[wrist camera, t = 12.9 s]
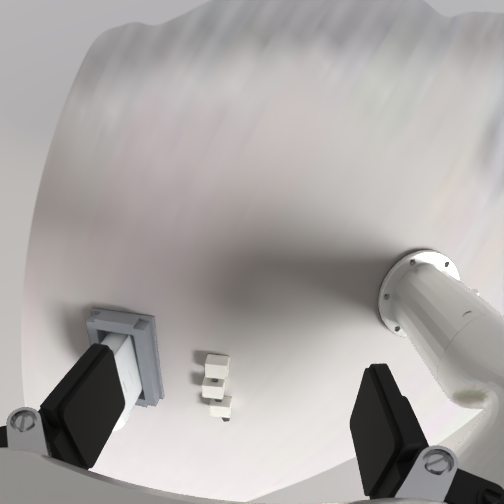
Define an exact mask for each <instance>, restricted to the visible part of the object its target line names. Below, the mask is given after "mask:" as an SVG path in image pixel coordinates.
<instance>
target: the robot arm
mask: <svg viewBox="0 0 504 504" xmlns="http://www.w3.org/2000/svg"><path fill="white" fill-rule="evenodd" d="M410 260H411V261H410ZM385 294H386V295H385ZM378 306H379V313H380V315H381V318H382V320H383V322H384V323H385V325H386V326H387V327H388V329H389V330H390V331H392V332H393V333H394V334H397V335H399V336H402V337H407V338H409V339H410V341H411V342H412V344H413V345H414V347H415V348H416V350H417V351H418V353H419V354H420V356H421V358H422V359H423V361H424V362H425V364H426V365H427V367H428V368H429V370H430V371H431V373H432V375H433V376H434V378H435V379H436V381H437V382H438V384H439V386H440V387H441V389H442V390H443V392H444V394H445V395H446V396H447V397H448V399H450V400H451V401H452V402H453V403H455V404H456V405H458V406H461V407H464V408H470V409H485V410H484V413H483V415H482V416H481V418H480V419H479V421H478V422H477V423H476V424H475V425H474V427H473V428H472V429H471V431H470V432H469V433H468V434H467V435H466V436H465V437H464V439H463V440H462V441H461V442H460V443H459V444H458V445H457V446H456V447H455V448H454V449H453V450H452V451H451V450H450V449H448V448H446V447H443V446H430V447H429V445H428V443H427V440H426V438H425V436H424V433H423V431H422V429H421V427H420V425H419V422H418V420H417V418H416V416H415V414H414V411H413V409H412V407H411V405H410V403H409V401H408V399H407V398H406V397H405V396H402V395H401V393H400V390H399V388H398V386H397V384H396V382H395V380H394V378H393V376H392V374H391V371H390V369H389V367H388V365H387V364H371V365H370V367H369V368H366V369H365V371H364V374H363V378H362V381H361V385H360V388H359V392H358V395H357V399H356V402H355V405H354V408H353V412H352V415H351V418H350V430H351V434H352V438H353V443H354V447H355V452H356V456H357V460H358V465H359V470H360V475H361V479H362V484H363V489H364V494H365V496H369V497H370V500H361V501H352V502H337V503H317V504H504V316H503V315H502V314H501V313H500V312H499V311H497V310H496V309H495V308H494V307H492V306H491V305H490V304H489V303H488V302H486V301H485V300H484V299H483V298H481V297H480V296H479V295H478V291H477V290H476V289H470V288H469V287H467V286H466V285H465V284H463V283H462V282H461V281H460V280H459V275H458V271H457V269H456V267H455V265H454V264H453V262H452V261H451V260H450V259H449V258H447V257H446V256H445V255H443V254H441V253H439V252H436V251H433V250H421V251H417V252H414V253H411V254H409V255H407V256H405V257H404V258H402V259H401V260H400V261H399V262H397V263H396V264H395V265H394V266H393V268H392V269H391V270H390V271H389V272H388V274H387V276H386V277H385V279H384V281H383V283H382V286H381V289H380V293H379V300H378ZM40 407H41V408H40V410H39V411H37V410H35V409H33V408H29V407H22V408H19V409H17V410H15V411H13V412H12V413H11V414H10V415H9V416H8V419H7V423H6V424H7V425H6V426H2V427H0V504H265V503H247V502H235V501H224V500H216V499H208V498H201V497H194V496H188V495H182V494H176V493H171V492H166V491H161V490H157V489H152V488H148V487H143V486H139V485H135V484H132V483H128V482H124V481H121V480H117V479H114V478H110V477H107V476H104V475H101V474H98V473H94V472H91V471H88V469H89V468H92V467H93V466H94V464H95V463H96V461H97V459H98V457H99V455H100V453H101V451H102V449H103V447H104V445H105V444H106V442H107V440H108V438H109V436H110V434H111V432H112V431H113V429H114V427H115V425H116V423H117V421H118V419H119V418H120V416H121V414H122V412H123V410H124V408H125V398H124V394H123V390H122V386H121V382H120V378H119V374H118V370H117V366H116V361H115V357H114V353H113V351H112V350H111V349H110V348H109V346H108V345H104V344H98V343H94V344H92V345H91V346H90V348H89V349H88V350H87V351H86V352H85V353H84V354H83V356H82V357H81V358H80V359H79V360H78V361H77V363H76V364H75V365H74V366H73V367H72V368H71V370H70V371H69V372H68V373H67V374H66V375H65V377H64V378H63V379H62V380H61V381H60V382H59V384H58V385H57V386H56V387H55V388H54V390H53V391H52V392H51V393H50V394H49V396H48V397H47V398H46V399H45V401H44V402H43V403H42V404H41V405H40Z"/></svg>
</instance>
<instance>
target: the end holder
mask: <svg viewBox="0 0 504 504" xmlns="http://www.w3.org/2000/svg"><path fill="white" fill-rule="evenodd" d="M86 326H87V331H88V335H89V340H90V344H91V345H92V344H94V343H98V344H101V343H102V342H103V340H104V339H105V338H106V337H107V335H108V334H109V333H112V332H116V333H123V334H129V335H131V336H132V338H133V341H134V344H135V347H136V352H137V358H138V364H139V370H140V375H141V381H142V386H143V389H142V391H141V393H140V395H139V397H138V399H137V401H136V403H135V405H138V406H143V407H147V406H148V405H151V406H156V405H157V403H158V401H159V399H163V398H164V391H163V385H162V378H161V371H160V363H159V356H158V347H157V339H156V330H155V320H154V316H148V315H140V314H132V313H125V312H117V311H110V310H104V309H97V308H92V309H91V316H90V317H89V318H88V319H87V320H86Z"/></svg>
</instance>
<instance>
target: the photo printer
mask: <svg viewBox="0 0 504 504" xmlns="http://www.w3.org/2000/svg"><path fill="white" fill-rule="evenodd" d="M101 344H104V345H108V346H109V348H110V349H111V350H112V351H113V353H114V357H115V361H116V366H117V370H118V374H119V378H120V382H121V386H122V390H123V394H124V398H125V408H124V410H123V412H122V414H121V416H120V418H119V419H118V421H117V423H116V425H115V427H114V429H113V431H116V430H118V429H120V428H122V427H123V426H124V424H125V423H126V421H127V419H128V417H129V415H130V413H131V411H132V409H133V407H134V405H135V403H136V401H137V399H138V397H139V395H140V393H141V391H142V389H143V386H142V381H141V375H140V370H139V364H138V358H137V352H136V347H135V344H134V341H133V338H132V336H131V335H129V334H123V333H116V332H112V333H109V334H108V335H107V337H106V338H105V339H104V340H103V342H102V343H101Z"/></svg>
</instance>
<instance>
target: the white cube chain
mask: <svg viewBox="0 0 504 504" xmlns="http://www.w3.org/2000/svg"><path fill="white" fill-rule="evenodd" d="M228 372H229V356H223V355H212V354H208V356H207V359H206V362H205V376H204V379H203V383H202V397H205V398H211V402H210V416H215V417H222V419H223V421H224V422H225V421H229V420H230V413H231V397H225V396H224V391H225V379H227V377H228Z"/></svg>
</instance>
